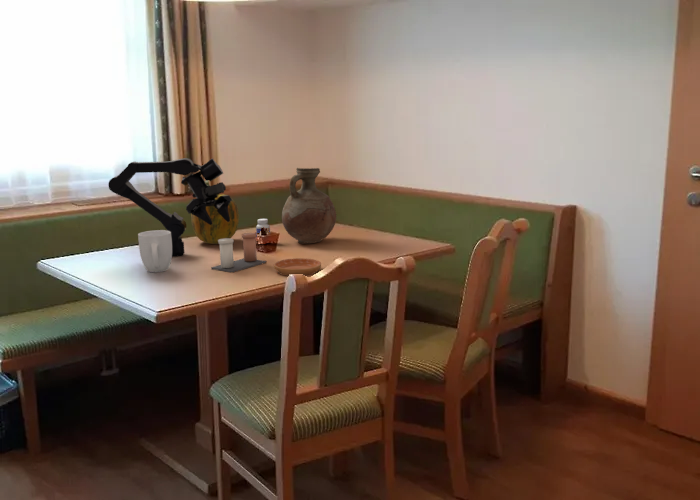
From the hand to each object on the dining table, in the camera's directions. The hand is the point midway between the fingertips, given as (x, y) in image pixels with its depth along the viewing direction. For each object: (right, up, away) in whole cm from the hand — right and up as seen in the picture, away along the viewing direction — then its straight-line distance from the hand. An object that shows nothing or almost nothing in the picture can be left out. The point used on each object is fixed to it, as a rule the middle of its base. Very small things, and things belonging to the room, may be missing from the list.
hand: (220, 222), depth 268 cm
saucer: (+30, -17, -20) cm, 40 cm away
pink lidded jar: (+12, -14, -6) cm, 20 cm away
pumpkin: (-7, -7, +30) cm, 31 cm away
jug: (+31, -7, +27) cm, 42 cm away
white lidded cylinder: (+5, -16, -15) cm, 23 cm away
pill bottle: (+13, -7, +26) cm, 30 cm away
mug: (-19, -17, -15) cm, 30 cm away
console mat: (+8, -15, -11) cm, 21 cm away
